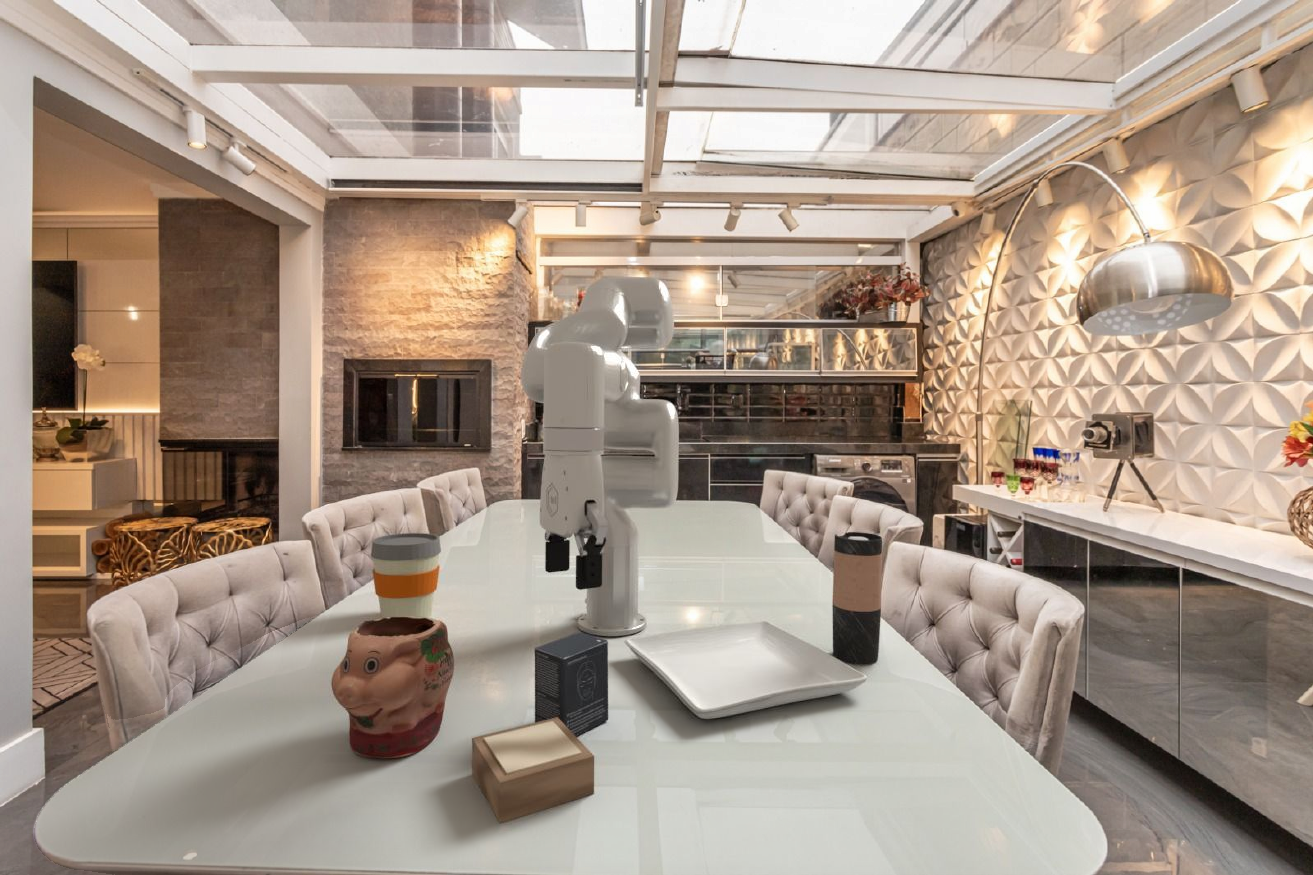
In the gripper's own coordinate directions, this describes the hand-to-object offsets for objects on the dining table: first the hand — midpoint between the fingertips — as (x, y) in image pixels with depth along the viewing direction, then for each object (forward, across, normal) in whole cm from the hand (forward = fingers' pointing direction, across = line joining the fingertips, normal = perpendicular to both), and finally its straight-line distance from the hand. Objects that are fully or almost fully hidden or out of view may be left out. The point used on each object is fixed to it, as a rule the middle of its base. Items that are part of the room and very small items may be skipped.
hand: (572, 579), depth 83 cm
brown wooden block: (+19, +10, -9) cm, 23 cm away
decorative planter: (+19, -8, -19) cm, 28 cm away
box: (+19, 0, 0) cm, 19 cm away
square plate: (+19, -2, +28) cm, 34 cm away
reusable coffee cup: (+18, -56, -10) cm, 60 cm away
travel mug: (+19, 0, +50) cm, 54 cm away
